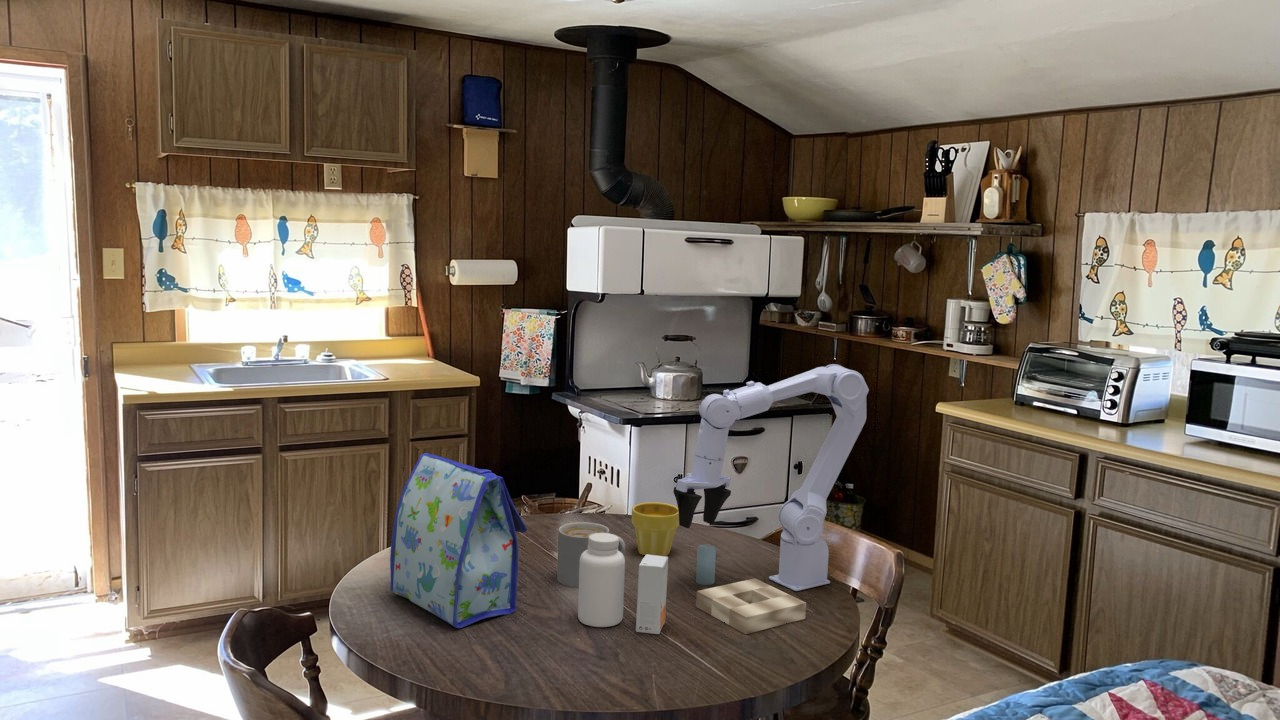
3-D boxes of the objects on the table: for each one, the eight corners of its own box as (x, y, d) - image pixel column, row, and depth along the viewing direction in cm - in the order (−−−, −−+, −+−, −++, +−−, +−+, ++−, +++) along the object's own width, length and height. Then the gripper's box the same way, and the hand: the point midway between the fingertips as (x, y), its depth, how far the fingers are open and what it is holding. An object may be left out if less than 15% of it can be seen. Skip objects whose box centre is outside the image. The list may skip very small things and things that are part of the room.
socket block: (754, 593, 183) (755, 578, 183) (805, 618, 172) (806, 602, 172) (696, 606, 176) (696, 591, 175) (745, 634, 164) (746, 617, 164)
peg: (706, 577, 191) (708, 543, 190) (718, 583, 188) (719, 548, 187) (692, 580, 189) (693, 546, 188) (703, 586, 186) (705, 551, 185)
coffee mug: (557, 588, 182) (559, 537, 181) (556, 570, 192) (557, 521, 191) (627, 587, 184) (629, 537, 183) (622, 570, 194) (624, 522, 192)
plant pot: (679, 562, 200) (681, 516, 198) (629, 560, 200) (631, 514, 199) (677, 546, 210) (679, 502, 209) (630, 544, 210) (632, 501, 209)
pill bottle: (629, 615, 171) (632, 533, 169) (613, 631, 163) (616, 546, 161) (588, 607, 173) (590, 527, 171) (570, 624, 166) (572, 540, 164)
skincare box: (659, 635, 162) (662, 567, 161) (635, 632, 163) (637, 564, 162) (666, 621, 168) (668, 556, 167) (642, 618, 169) (644, 553, 168)
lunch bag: (531, 609, 172) (534, 467, 168) (454, 634, 160) (456, 482, 156) (456, 576, 187) (458, 445, 183) (381, 597, 175) (382, 457, 171)
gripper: (715, 449, 192) (703, 515, 193) (669, 452, 181) (657, 521, 182) (743, 459, 187) (730, 525, 189) (698, 462, 176) (685, 533, 178)
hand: (696, 524), depth 185 cm, fingers open, 7 cm apart
